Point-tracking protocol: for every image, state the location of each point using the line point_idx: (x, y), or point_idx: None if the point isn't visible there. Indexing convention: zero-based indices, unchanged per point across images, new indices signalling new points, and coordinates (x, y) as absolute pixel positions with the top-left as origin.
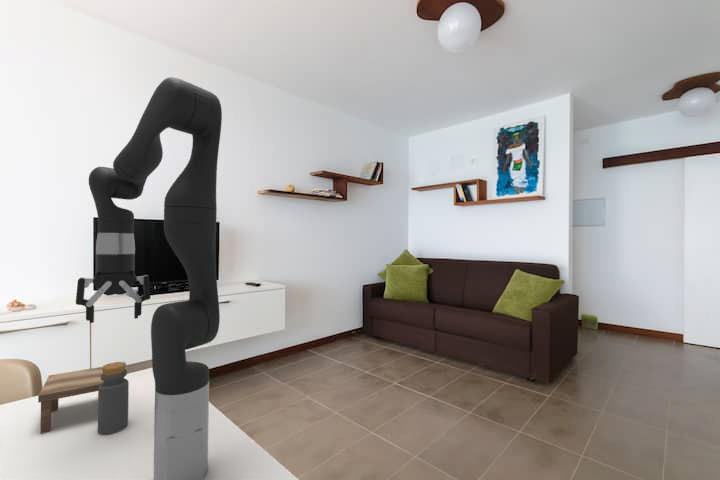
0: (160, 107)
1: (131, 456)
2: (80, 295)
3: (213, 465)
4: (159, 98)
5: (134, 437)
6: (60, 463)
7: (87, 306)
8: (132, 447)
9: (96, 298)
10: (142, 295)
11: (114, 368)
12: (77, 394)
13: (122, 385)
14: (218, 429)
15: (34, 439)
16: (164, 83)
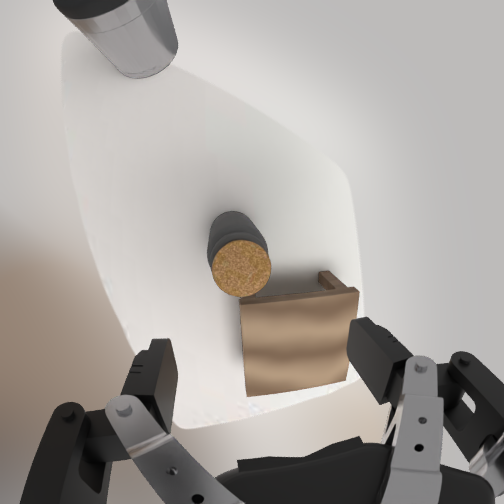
0: None
1: (201, 120)
2: (485, 384)
3: None
4: None
5: (197, 178)
6: (292, 157)
7: (421, 356)
8: (200, 146)
9: (413, 395)
10: (115, 460)
11: (239, 240)
12: (301, 293)
13: (218, 232)
14: (81, 142)
15: (333, 255)
16: None
